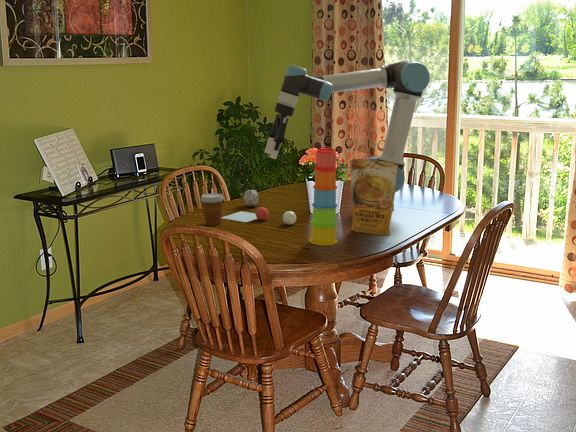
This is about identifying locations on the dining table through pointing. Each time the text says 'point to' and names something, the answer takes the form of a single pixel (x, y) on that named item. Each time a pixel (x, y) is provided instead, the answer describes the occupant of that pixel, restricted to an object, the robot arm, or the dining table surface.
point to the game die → (251, 197)
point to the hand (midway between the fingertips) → (270, 155)
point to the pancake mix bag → (372, 195)
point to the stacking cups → (324, 199)
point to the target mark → (241, 216)
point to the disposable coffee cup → (212, 208)
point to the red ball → (262, 213)
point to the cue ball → (289, 217)
